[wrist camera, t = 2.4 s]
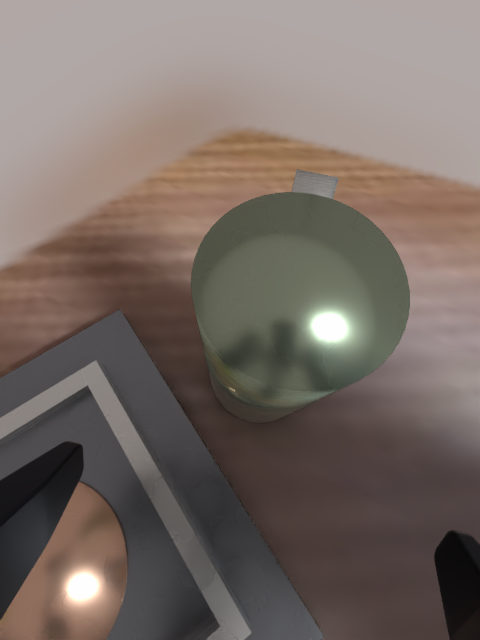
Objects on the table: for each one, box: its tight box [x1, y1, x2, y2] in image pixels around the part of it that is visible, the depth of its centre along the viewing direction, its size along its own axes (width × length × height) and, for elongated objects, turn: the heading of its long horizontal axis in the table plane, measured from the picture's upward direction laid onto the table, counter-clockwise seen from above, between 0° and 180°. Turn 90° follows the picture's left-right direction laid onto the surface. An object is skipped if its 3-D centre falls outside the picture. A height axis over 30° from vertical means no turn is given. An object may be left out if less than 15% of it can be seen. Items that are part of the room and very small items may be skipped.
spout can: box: [191, 169, 410, 423], centre depth 16 cm, size 8×6×13 cm
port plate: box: [0, 309, 324, 640], centre depth 16 cm, size 20×20×2 cm
